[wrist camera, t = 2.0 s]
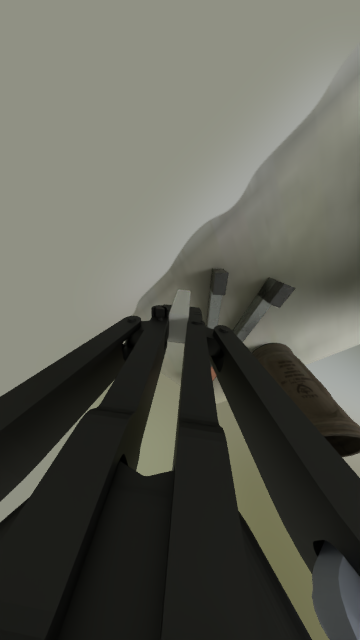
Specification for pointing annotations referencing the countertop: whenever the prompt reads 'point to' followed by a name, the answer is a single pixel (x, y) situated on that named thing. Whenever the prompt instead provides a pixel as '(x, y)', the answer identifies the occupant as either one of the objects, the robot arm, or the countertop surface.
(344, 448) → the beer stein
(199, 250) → the countertop surface
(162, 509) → the robot arm
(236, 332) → the tongs base
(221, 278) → the tong arm
